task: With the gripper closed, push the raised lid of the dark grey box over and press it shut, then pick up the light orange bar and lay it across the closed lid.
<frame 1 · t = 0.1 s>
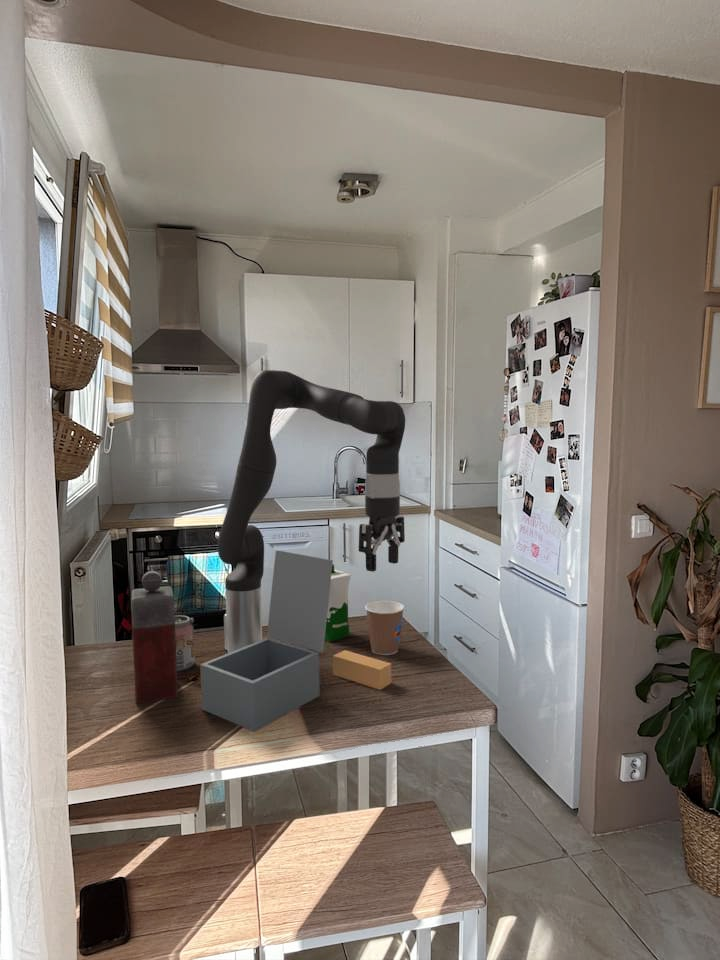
hand: (382, 566, 143), 29 cm above the table, tool pointing down, fingers open, 8 cm apart
milk carton: (332, 636, 183), on the table
coffee cup: (384, 651, 173), on the table
light orange bar: (361, 679, 155), on the table
box: (261, 702, 143), on the table
beverage can: (177, 665, 164), on the table
lid: (298, 599, 150), point 20 cm above the table, hinge at 100.0°
decanter: (156, 690, 149), on the table
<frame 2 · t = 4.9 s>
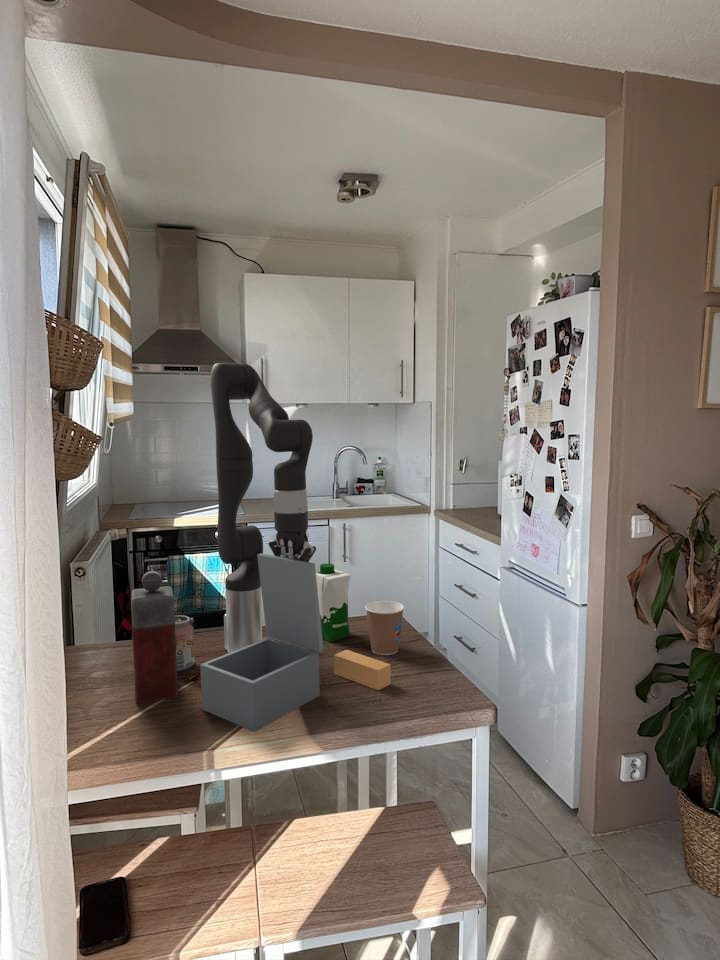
hand: (293, 584, 148), 24 cm above the table, tool pointing down, fingers closed
lid: (289, 601, 148), point 20 cm above the table, hinge at 82.9°, touching gripper
everything else where it was.
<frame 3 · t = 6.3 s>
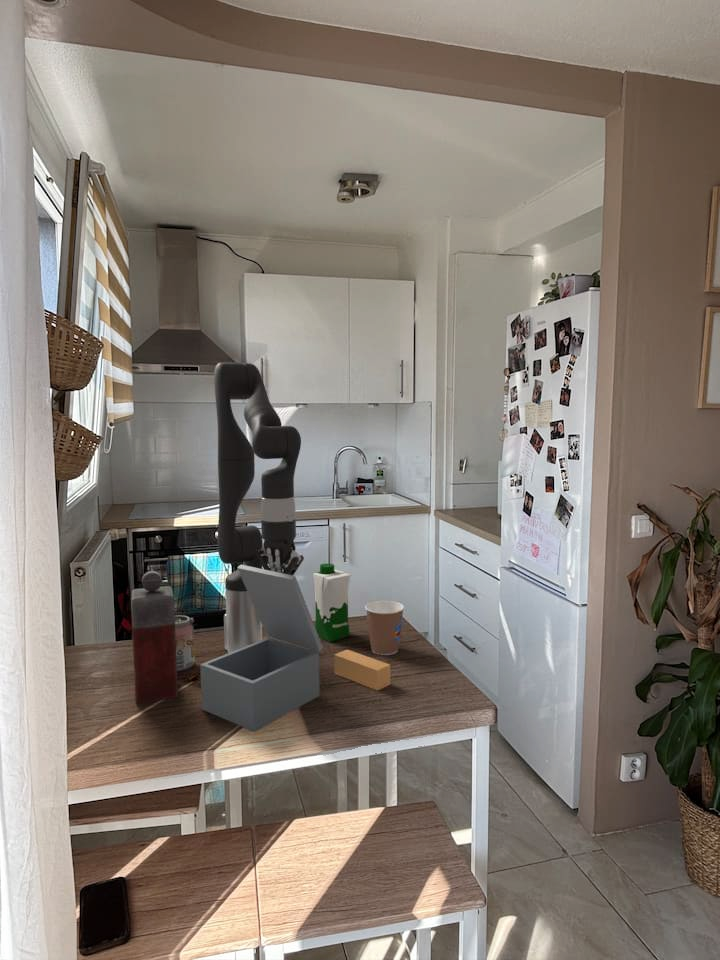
hand: (280, 594, 145), 23 cm above the table, tool pointing down, fingers closed
lid: (280, 607, 145), point 20 cm above the table, hinge at 64.7°
everything else where it was.
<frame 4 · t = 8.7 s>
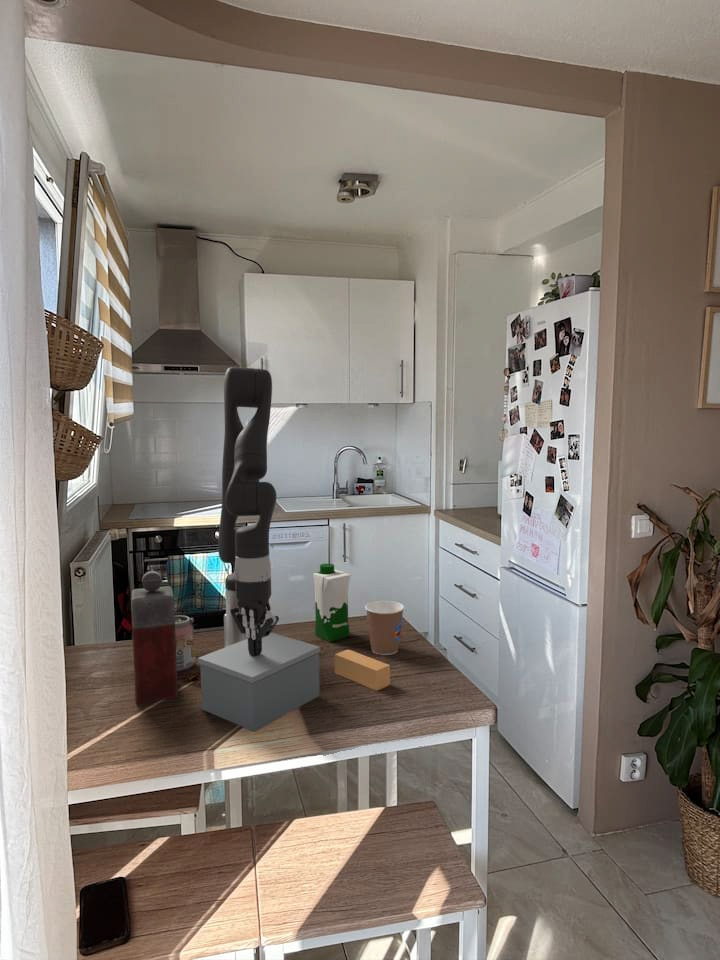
hand: (255, 654, 140), 11 cm above the table, tool pointing down, fingers closed
lid: (260, 654, 141), point 11 cm above the table, hinge at -0.1°, touching gripper
everything else where it was.
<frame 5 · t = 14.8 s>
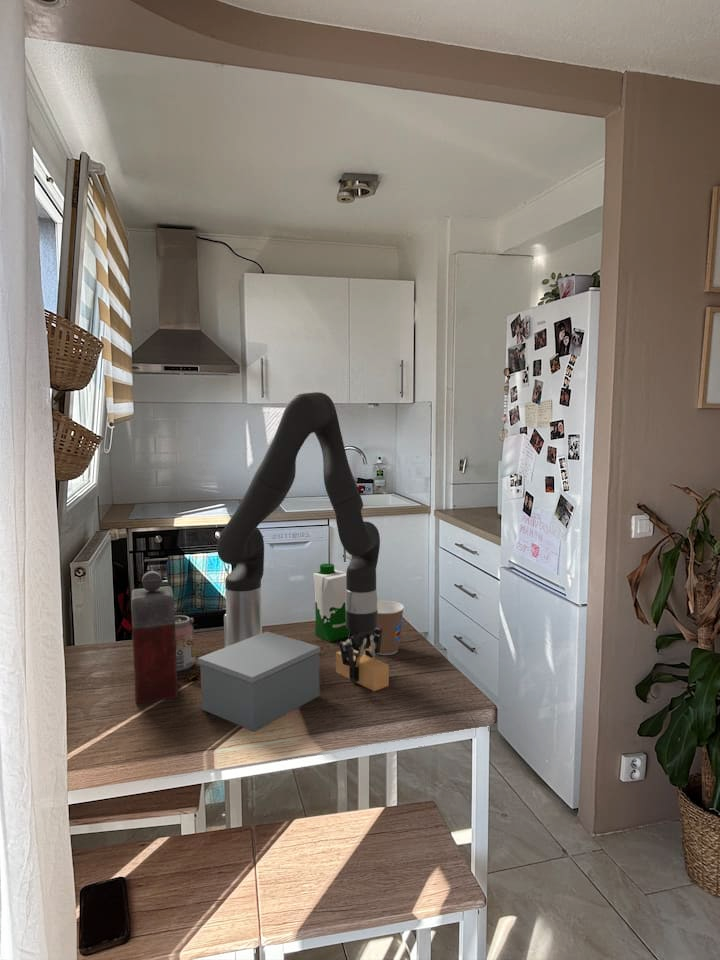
hand: (361, 676, 155), 1 cm above the table, tool pointing down, fingers closed on light orange bar, 5 cm apart
light orange bar: (361, 678, 155), on the table, touching gripper
lid: (260, 654, 141), point 11 cm above the table, hinge at -0.1°
everything else where it was.
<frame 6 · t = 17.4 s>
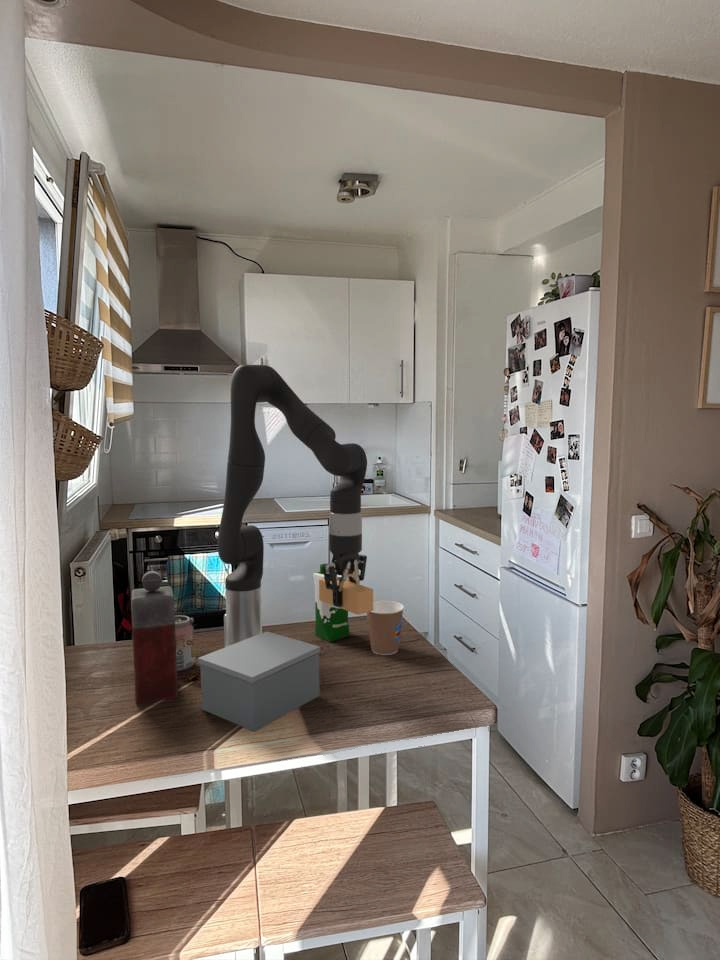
hand: (345, 602, 151), 19 cm above the table, tool pointing down, fingers closed on light orange bar, 5 cm apart
light orange bar: (345, 605, 151), point 18 cm above the table, touching gripper
everything else where it was.
when the fingers open (13 cm above the table, at t = 20.2 s): light orange bar drops 1 cm, resting on lid.
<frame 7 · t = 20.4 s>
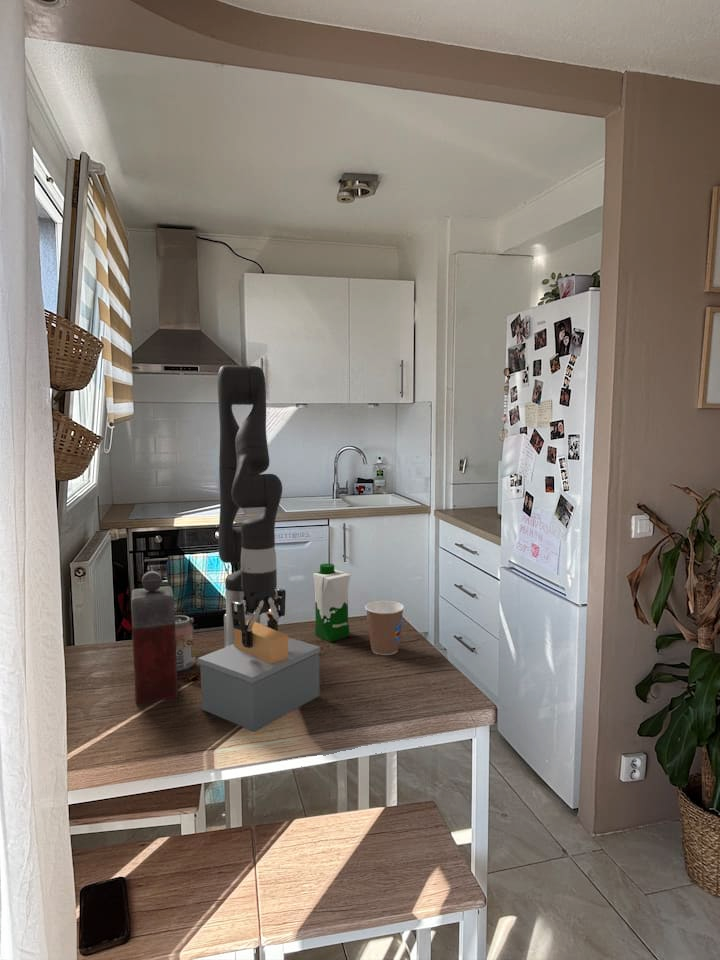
hand: (260, 641, 141), 14 cm above the table, tool pointing down, fingers open, 6 cm apart
light orange bar: (260, 652, 141), point 11 cm above the table, touching lid
lid: (260, 654, 141), point 11 cm above the table, hinge at -0.1°, touching light orange bar
everything else where it was.
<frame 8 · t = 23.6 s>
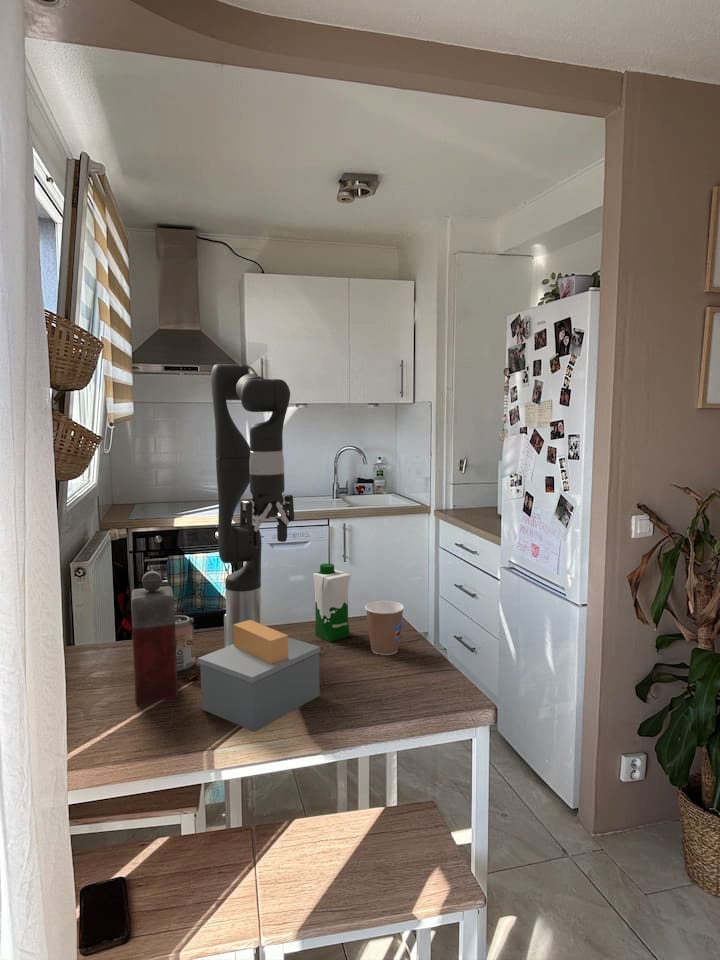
hand: (268, 544, 144), 34 cm above the table, tool pointing down, fingers open, 8 cm apart
nothing on the table moved.
at the end: lid at +0° (first picture: +100°); light orange bar inside the target area on the box (0.1 cm from its centre), point 11.5 cm above the box's base; the gripper is holding nothing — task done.
